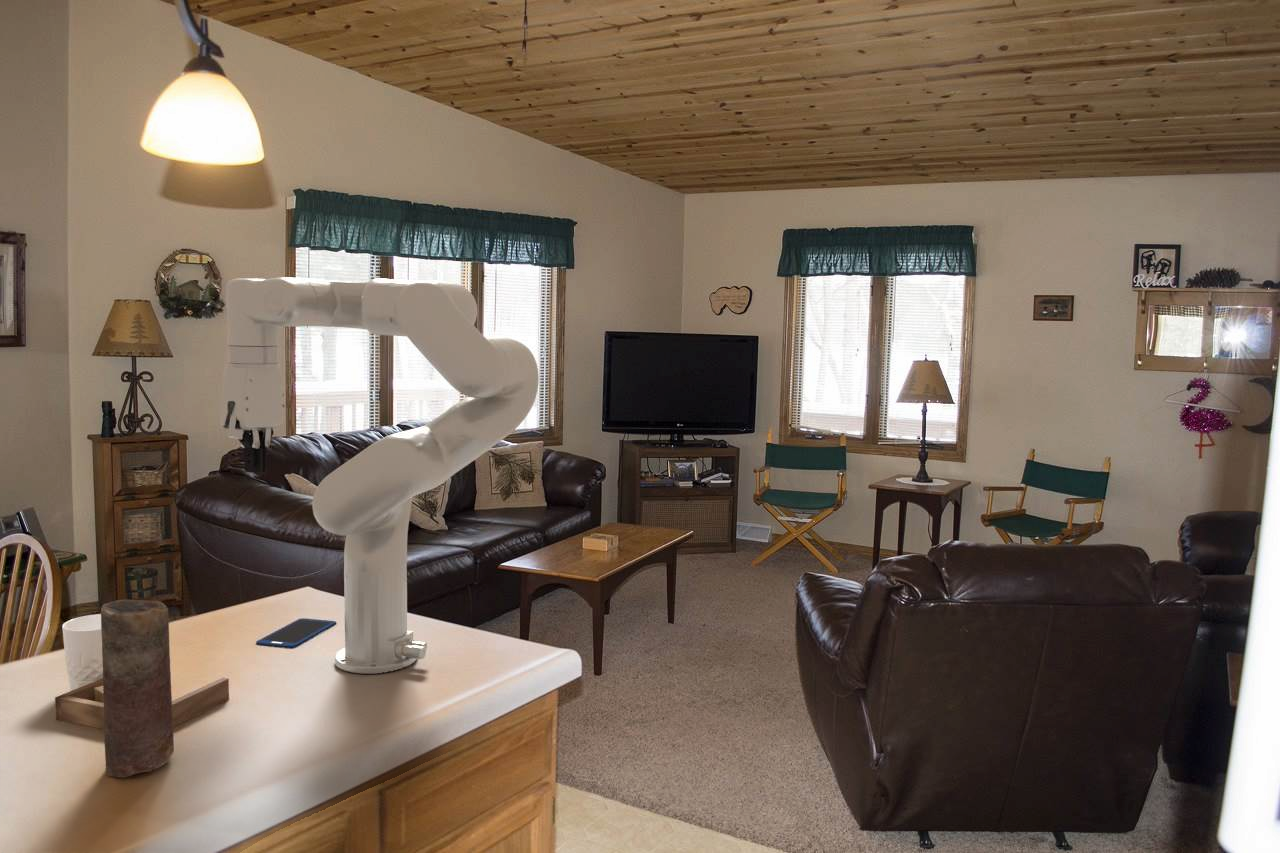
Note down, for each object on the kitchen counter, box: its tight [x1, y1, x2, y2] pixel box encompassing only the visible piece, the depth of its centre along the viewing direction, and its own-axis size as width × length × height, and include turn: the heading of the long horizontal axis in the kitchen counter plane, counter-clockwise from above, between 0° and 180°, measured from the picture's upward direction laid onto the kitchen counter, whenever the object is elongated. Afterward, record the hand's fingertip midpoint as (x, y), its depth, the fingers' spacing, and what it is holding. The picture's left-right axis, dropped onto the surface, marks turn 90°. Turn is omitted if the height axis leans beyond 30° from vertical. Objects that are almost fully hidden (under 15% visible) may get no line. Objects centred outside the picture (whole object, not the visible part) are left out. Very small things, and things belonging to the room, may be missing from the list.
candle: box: [100, 599, 175, 778], centre depth 115 cm, size 8×7×20 cm
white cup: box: [61, 613, 103, 692], centre depth 139 cm, size 8×8×10 cm
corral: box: [54, 677, 230, 730], centre depth 133 cm, size 16×14×3 cm
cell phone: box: [255, 617, 337, 649], centre depth 165 cm, size 7×14×1 cm, turn 167°
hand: (256, 471), depth 155 cm, fingers closed
